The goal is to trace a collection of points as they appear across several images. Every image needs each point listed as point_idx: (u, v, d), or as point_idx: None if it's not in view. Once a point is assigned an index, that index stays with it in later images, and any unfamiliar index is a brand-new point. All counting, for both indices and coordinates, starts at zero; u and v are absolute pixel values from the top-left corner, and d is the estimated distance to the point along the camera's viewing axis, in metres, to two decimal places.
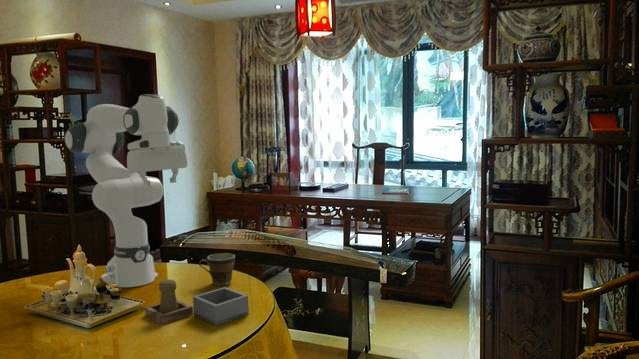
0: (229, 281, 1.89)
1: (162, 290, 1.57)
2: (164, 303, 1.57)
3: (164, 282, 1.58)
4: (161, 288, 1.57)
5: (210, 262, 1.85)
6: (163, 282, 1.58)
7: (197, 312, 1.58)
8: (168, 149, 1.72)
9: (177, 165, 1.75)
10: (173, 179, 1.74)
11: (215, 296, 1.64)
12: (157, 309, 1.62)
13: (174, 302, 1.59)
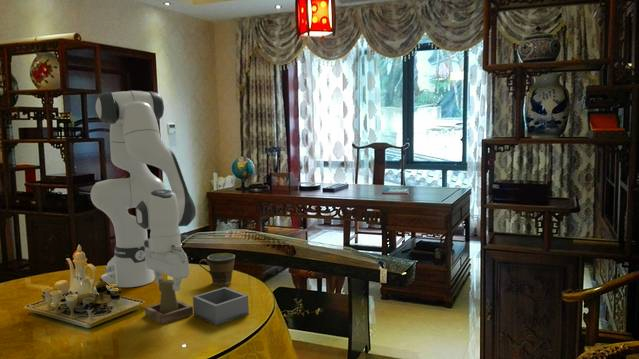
0: (229, 281, 1.89)
1: (162, 290, 1.57)
2: (164, 303, 1.57)
3: (164, 282, 1.58)
4: (161, 288, 1.57)
5: (210, 262, 1.85)
6: (163, 282, 1.58)
7: (197, 312, 1.58)
8: (166, 254, 1.54)
9: (171, 274, 1.53)
10: (173, 287, 1.55)
11: (215, 296, 1.64)
12: (157, 309, 1.62)
13: (174, 302, 1.59)
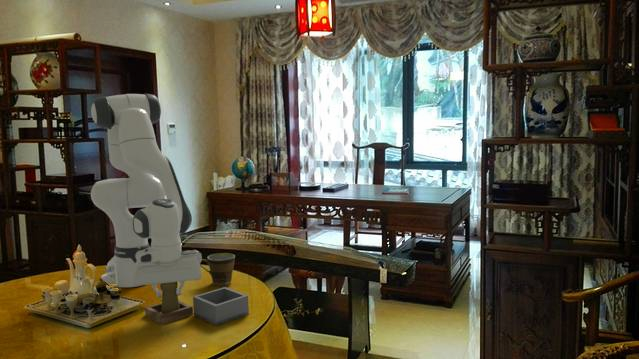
0: (229, 281, 1.89)
1: (168, 289, 1.57)
2: (171, 302, 1.58)
3: None
4: (167, 288, 1.57)
5: (210, 262, 1.85)
6: None
7: (197, 312, 1.58)
8: (177, 261, 1.57)
9: (188, 278, 1.59)
10: (177, 292, 1.59)
11: (215, 296, 1.64)
12: (157, 309, 1.62)
13: None
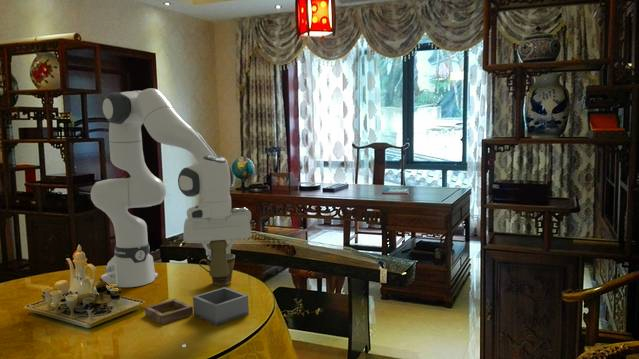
0: (229, 281, 1.89)
1: (218, 248, 1.55)
2: (220, 261, 1.56)
3: (218, 240, 1.56)
4: (217, 246, 1.55)
5: (210, 262, 1.85)
6: (217, 240, 1.56)
7: (197, 312, 1.58)
8: (228, 218, 1.55)
9: (238, 236, 1.57)
10: (227, 250, 1.57)
11: (215, 296, 1.64)
12: (157, 309, 1.62)
13: None
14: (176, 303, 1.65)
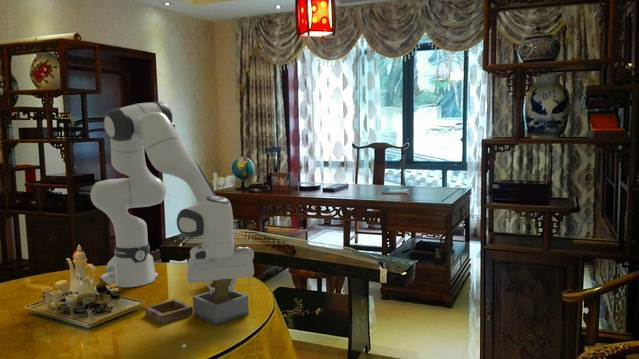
0: None
1: (222, 286, 1.57)
2: (223, 299, 1.57)
3: None
4: (221, 284, 1.56)
5: None
6: None
7: (197, 312, 1.58)
8: (231, 257, 1.57)
9: (241, 275, 1.58)
10: (229, 289, 1.59)
11: None
12: (157, 309, 1.62)
13: (229, 297, 1.60)
14: (176, 303, 1.65)
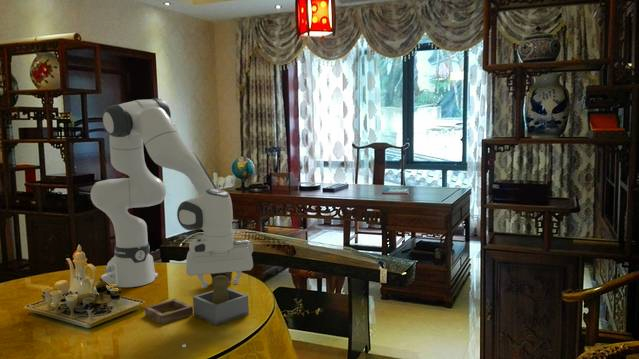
0: (229, 281, 1.89)
1: (220, 286, 1.56)
2: (222, 299, 1.57)
3: (220, 278, 1.57)
4: (219, 285, 1.56)
5: None
6: (219, 279, 1.57)
7: (197, 312, 1.58)
8: (230, 251, 1.57)
9: (240, 268, 1.58)
10: (235, 282, 1.59)
11: None
12: (157, 309, 1.62)
13: (228, 297, 1.60)
14: (176, 303, 1.65)
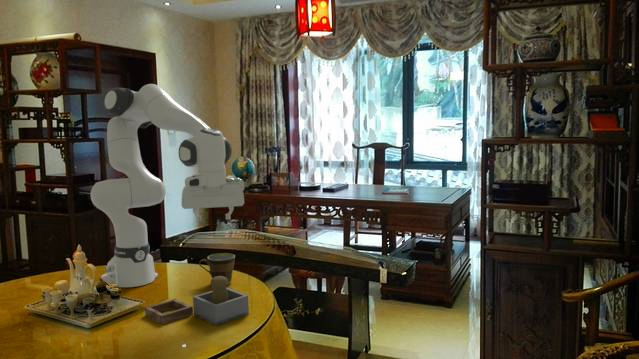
0: (229, 281, 1.89)
1: (219, 286, 1.56)
2: (221, 300, 1.57)
3: (219, 278, 1.57)
4: (218, 285, 1.56)
5: (210, 262, 1.85)
6: (218, 279, 1.57)
7: (197, 312, 1.58)
8: (223, 187, 1.68)
9: (232, 204, 1.69)
10: (227, 216, 1.71)
11: None
12: (157, 309, 1.62)
13: (227, 297, 1.60)
14: (176, 303, 1.65)
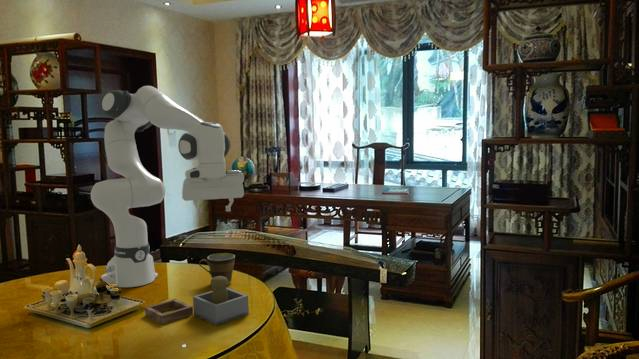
0: (229, 281, 1.89)
1: (219, 286, 1.56)
2: (222, 299, 1.57)
3: (219, 278, 1.57)
4: (218, 285, 1.56)
5: (210, 262, 1.85)
6: (218, 279, 1.57)
7: (197, 312, 1.58)
8: (223, 178, 1.71)
9: (232, 195, 1.72)
10: (227, 208, 1.73)
11: None
12: (157, 309, 1.62)
13: (227, 297, 1.60)
14: (176, 303, 1.65)
